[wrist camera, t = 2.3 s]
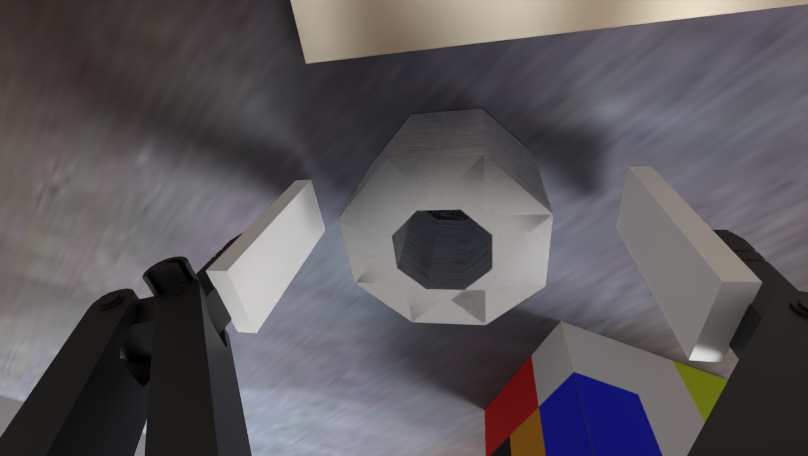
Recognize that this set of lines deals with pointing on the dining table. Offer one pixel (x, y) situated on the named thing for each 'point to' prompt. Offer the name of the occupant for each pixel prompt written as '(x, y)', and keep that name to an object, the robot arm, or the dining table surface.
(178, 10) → the dining table surface
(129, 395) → the robot arm
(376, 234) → the octagonal tube
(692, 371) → the puzzle toy
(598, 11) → the carrier
